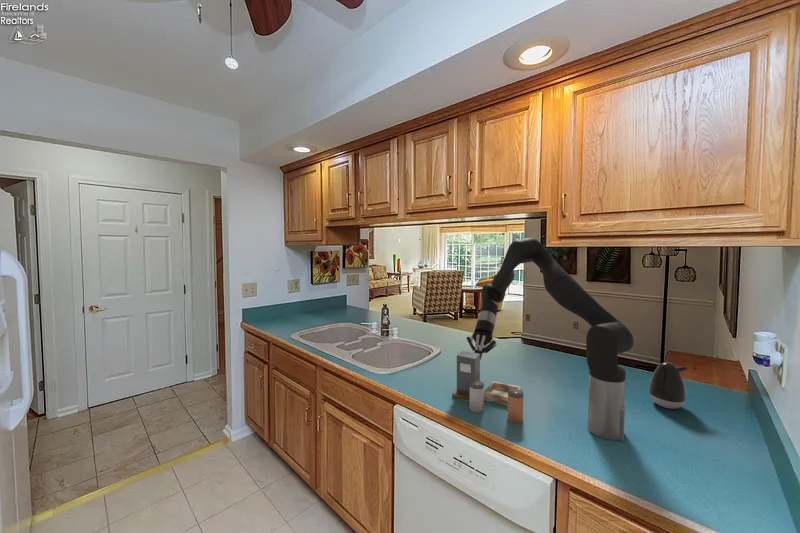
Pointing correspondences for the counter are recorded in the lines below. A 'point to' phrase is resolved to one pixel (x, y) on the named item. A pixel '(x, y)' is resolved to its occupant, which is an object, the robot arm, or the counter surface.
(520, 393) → the cylinder
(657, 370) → the pump dispenser
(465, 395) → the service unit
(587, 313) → the robot arm
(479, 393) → the cylinder
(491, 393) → the tray
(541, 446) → the counter surface
